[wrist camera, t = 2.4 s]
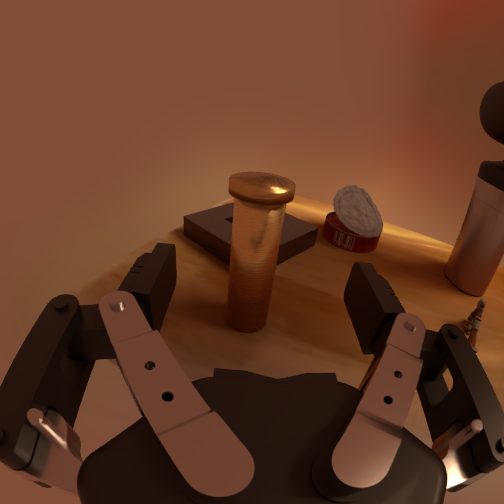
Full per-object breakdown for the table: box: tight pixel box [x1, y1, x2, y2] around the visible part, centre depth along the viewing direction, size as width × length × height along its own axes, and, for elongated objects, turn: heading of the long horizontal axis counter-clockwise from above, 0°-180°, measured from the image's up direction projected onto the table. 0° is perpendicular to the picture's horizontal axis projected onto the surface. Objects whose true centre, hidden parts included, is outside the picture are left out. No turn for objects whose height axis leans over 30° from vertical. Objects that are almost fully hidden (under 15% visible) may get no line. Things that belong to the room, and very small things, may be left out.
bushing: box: [227, 172, 296, 333], centre depth 24 cm, size 5×5×14 cm
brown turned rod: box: [465, 298, 486, 353], centre depth 26 cm, size 2×8×4 cm, turn 140°
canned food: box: [323, 186, 383, 253], centre depth 45 cm, size 11×10×10 cm
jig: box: [184, 203, 318, 266], centre depth 41 cm, size 14×14×3 cm
